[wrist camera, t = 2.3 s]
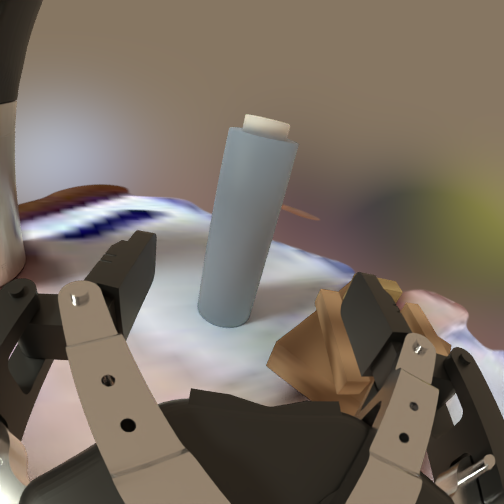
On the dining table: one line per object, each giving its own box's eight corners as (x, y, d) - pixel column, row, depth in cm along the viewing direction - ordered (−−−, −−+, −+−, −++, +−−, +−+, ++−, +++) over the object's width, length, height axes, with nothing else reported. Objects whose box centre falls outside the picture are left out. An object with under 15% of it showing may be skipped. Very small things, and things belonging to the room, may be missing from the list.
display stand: (254, 364, 22) (274, 310, 19) (337, 296, 33) (357, 253, 30) (404, 469, 14) (457, 433, 11) (441, 363, 25) (471, 324, 22)
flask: (187, 302, 26) (218, 109, 18) (224, 286, 30) (263, 116, 21) (222, 335, 24) (274, 123, 15) (260, 313, 27) (315, 131, 19)
